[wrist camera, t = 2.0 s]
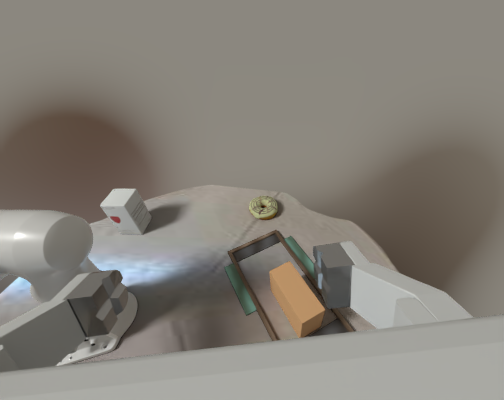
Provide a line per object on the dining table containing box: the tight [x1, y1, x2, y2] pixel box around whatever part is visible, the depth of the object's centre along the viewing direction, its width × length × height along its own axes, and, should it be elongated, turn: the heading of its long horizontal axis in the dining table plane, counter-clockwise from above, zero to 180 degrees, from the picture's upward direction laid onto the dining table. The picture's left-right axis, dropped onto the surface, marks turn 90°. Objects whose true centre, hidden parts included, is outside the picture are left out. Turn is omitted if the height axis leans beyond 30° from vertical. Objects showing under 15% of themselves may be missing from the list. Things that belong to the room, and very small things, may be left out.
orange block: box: [270, 261, 325, 338], centre depth 58 cm, size 6×14×10 cm, turn 26°
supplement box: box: [100, 189, 152, 235], centre depth 84 cm, size 9×9×15 cm
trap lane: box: [224, 230, 354, 341], centre depth 65 cm, size 24×37×1 cm, turn 26°
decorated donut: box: [249, 196, 278, 220], centre depth 88 cm, size 10×11×4 cm
